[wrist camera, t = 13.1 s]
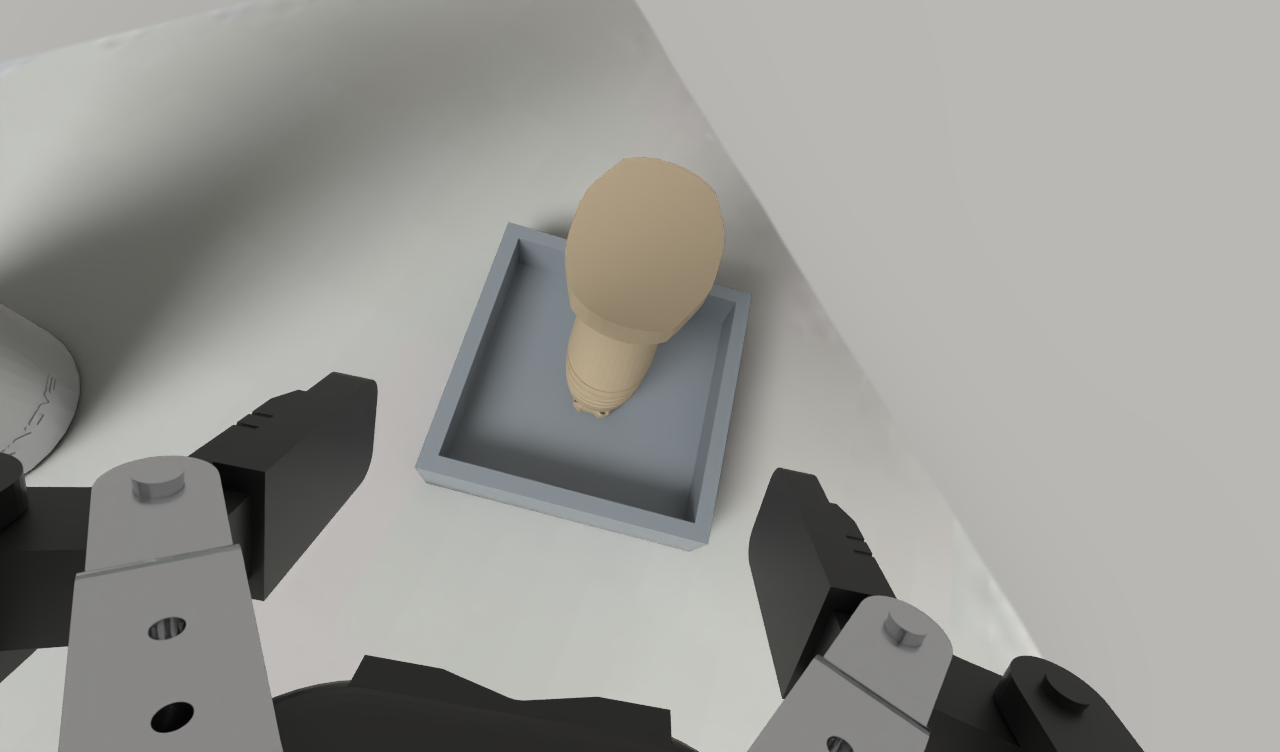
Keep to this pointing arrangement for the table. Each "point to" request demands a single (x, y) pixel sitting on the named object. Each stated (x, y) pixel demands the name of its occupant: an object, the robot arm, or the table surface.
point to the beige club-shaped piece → (635, 274)
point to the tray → (578, 441)
